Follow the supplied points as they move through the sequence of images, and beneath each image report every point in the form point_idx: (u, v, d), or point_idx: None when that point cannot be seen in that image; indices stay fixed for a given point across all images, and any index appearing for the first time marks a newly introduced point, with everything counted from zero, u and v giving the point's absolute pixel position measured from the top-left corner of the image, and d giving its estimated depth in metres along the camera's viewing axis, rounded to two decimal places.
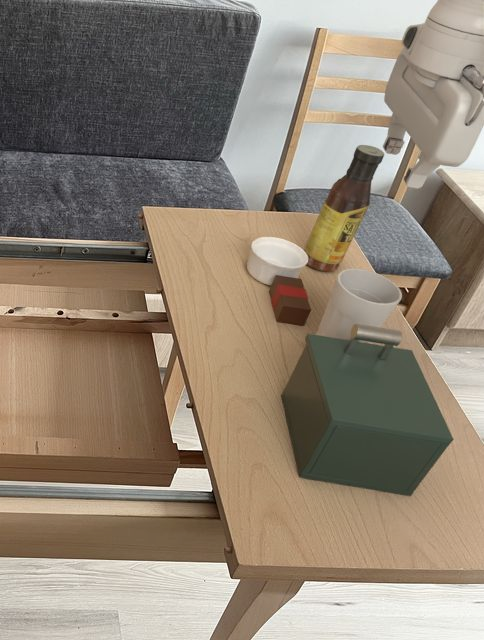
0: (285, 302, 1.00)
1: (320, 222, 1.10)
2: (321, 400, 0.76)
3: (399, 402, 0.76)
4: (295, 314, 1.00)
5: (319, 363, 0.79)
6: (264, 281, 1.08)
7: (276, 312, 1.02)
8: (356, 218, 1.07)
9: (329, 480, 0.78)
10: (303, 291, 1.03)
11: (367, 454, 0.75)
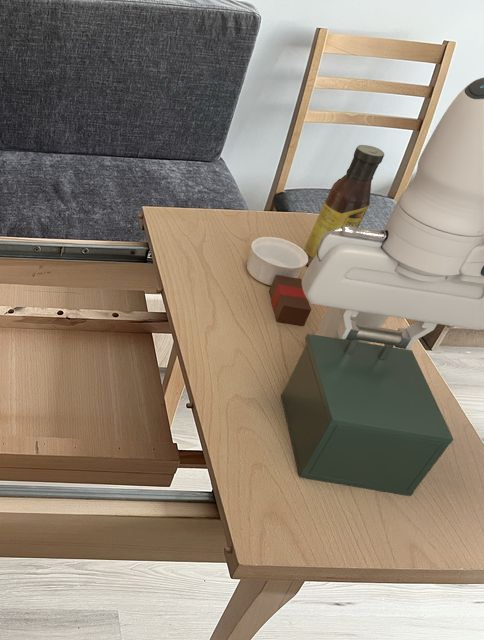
0: (285, 302, 1.00)
1: (320, 222, 1.10)
2: (321, 400, 0.76)
3: (399, 402, 0.76)
4: (295, 314, 1.00)
5: (319, 363, 0.79)
6: (264, 281, 1.08)
7: (276, 312, 1.02)
8: (356, 218, 1.07)
9: (329, 480, 0.78)
10: (303, 291, 1.03)
11: (367, 454, 0.75)
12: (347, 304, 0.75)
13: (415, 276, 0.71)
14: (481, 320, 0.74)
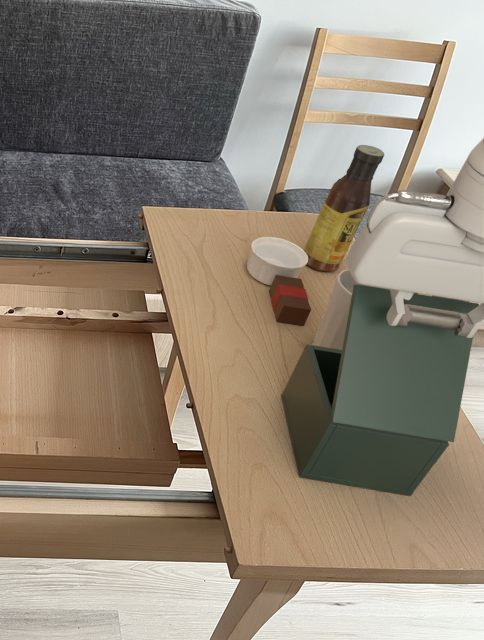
0: (285, 302, 1.00)
1: (320, 222, 1.10)
2: (321, 400, 0.76)
3: (419, 393, 0.72)
4: (295, 314, 1.00)
5: (352, 336, 0.72)
6: (264, 281, 1.08)
7: (276, 312, 1.02)
8: (356, 218, 1.07)
9: (329, 480, 0.78)
10: (303, 291, 1.03)
11: (367, 454, 0.75)
12: (401, 284, 0.64)
13: None
14: None
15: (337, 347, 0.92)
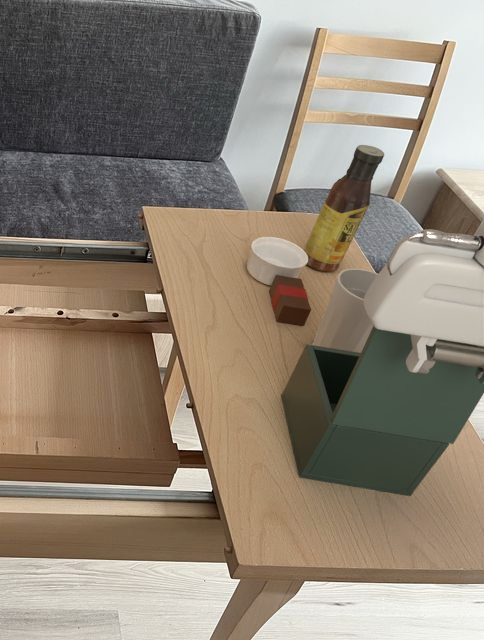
0: (285, 302, 1.00)
1: (320, 222, 1.10)
2: (321, 400, 0.76)
3: (430, 403, 0.70)
4: (295, 314, 1.00)
5: (370, 352, 0.67)
6: (264, 281, 1.08)
7: (276, 312, 1.02)
8: (356, 218, 1.07)
9: (329, 480, 0.78)
10: (303, 291, 1.03)
11: (367, 454, 0.75)
12: (424, 330, 0.59)
13: None
14: None
15: (337, 347, 0.92)
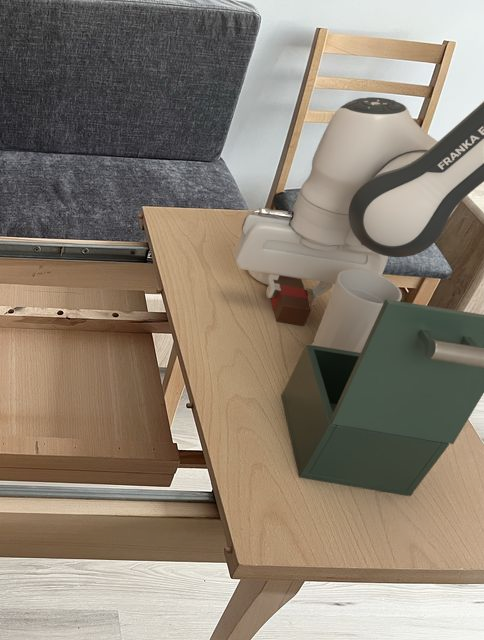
0: (285, 302, 1.00)
1: None
2: (321, 400, 0.76)
3: (429, 403, 0.70)
4: (295, 314, 1.00)
5: (370, 351, 0.67)
6: (264, 281, 1.08)
7: (276, 312, 1.02)
8: None
9: (329, 480, 0.78)
10: (303, 291, 1.03)
11: (367, 454, 0.75)
12: (266, 269, 0.98)
13: (313, 246, 0.94)
14: None
15: (337, 347, 0.92)
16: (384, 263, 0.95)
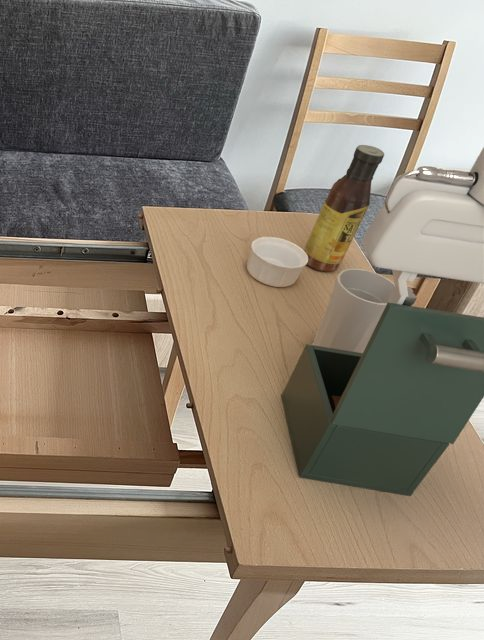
0: None
1: (320, 222, 1.10)
2: (321, 400, 0.76)
3: (430, 404, 0.70)
4: None
5: (371, 354, 0.67)
6: (264, 281, 1.08)
7: None
8: (356, 218, 1.07)
9: (329, 480, 0.78)
10: None
11: (367, 454, 0.75)
12: (421, 267, 0.61)
13: None
14: None
15: (337, 347, 0.92)
16: None
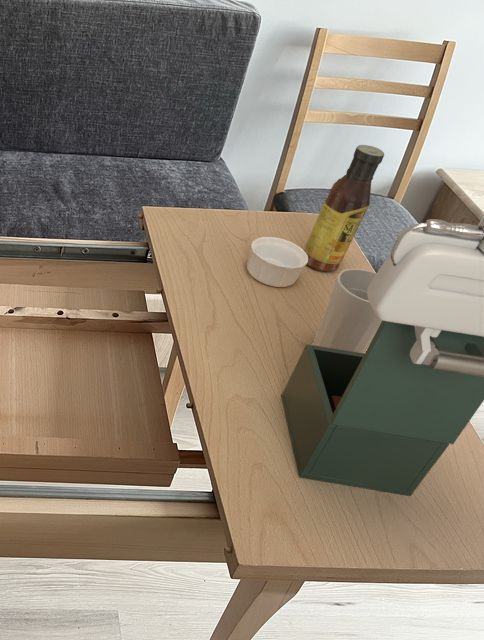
0: None
1: (320, 222, 1.10)
2: (321, 400, 0.76)
3: (431, 406, 0.69)
4: None
5: (372, 357, 0.67)
6: (264, 281, 1.08)
7: None
8: (356, 218, 1.07)
9: (329, 480, 0.78)
10: None
11: (367, 454, 0.75)
12: (428, 321, 0.59)
13: None
14: None
15: (337, 347, 0.92)
16: None
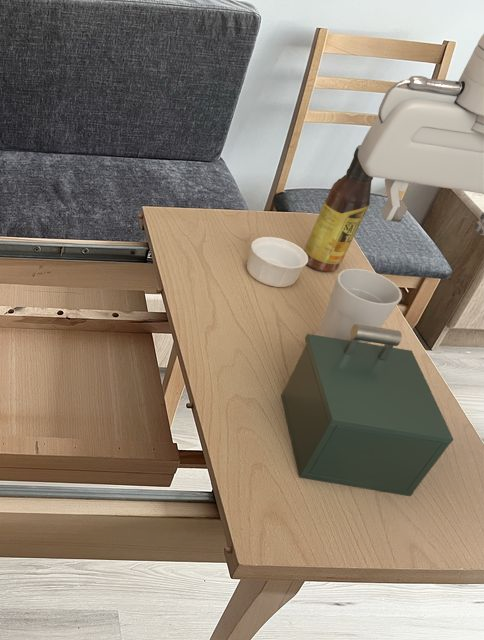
0: None
1: (320, 222, 1.10)
2: (321, 400, 0.76)
3: (399, 402, 0.76)
4: None
5: (319, 363, 0.80)
6: (264, 281, 1.08)
7: None
8: (356, 218, 1.07)
9: (329, 480, 0.78)
10: None
11: (367, 454, 0.75)
12: (412, 175, 0.65)
13: None
14: None
15: None
16: None
